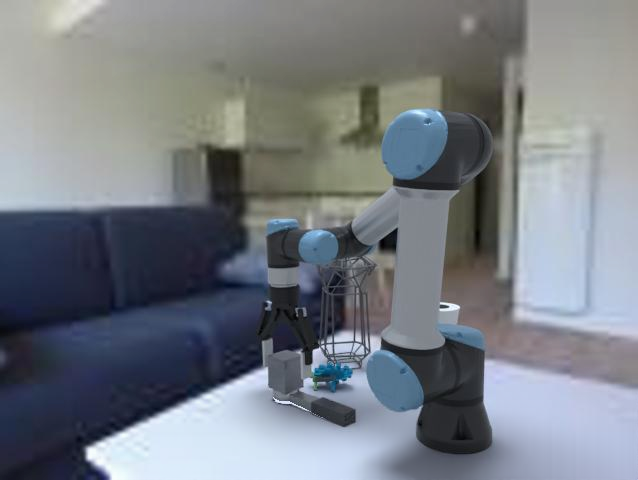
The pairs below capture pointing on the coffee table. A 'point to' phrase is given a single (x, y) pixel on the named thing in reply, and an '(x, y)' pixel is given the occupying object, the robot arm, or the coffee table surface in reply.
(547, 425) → the coffee table surface
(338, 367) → the gear
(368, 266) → the geometric lantern
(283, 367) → the grey rectangular block
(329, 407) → the ratchet
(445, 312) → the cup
